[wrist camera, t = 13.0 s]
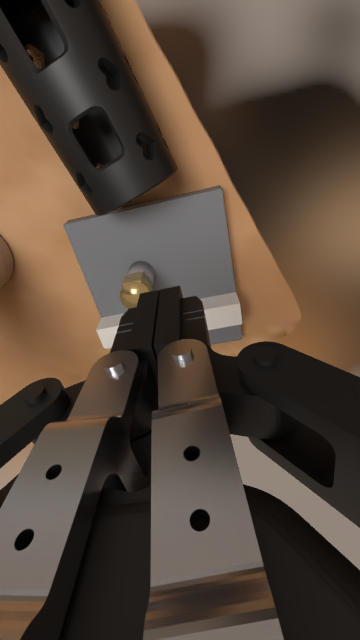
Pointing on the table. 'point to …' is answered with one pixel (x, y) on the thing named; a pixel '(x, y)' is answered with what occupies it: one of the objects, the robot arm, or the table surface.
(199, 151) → the table surface
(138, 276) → the swing bar
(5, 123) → the table surface
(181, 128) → the table surface
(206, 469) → the robot arm
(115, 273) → the lock board
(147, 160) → the muzzle brake
